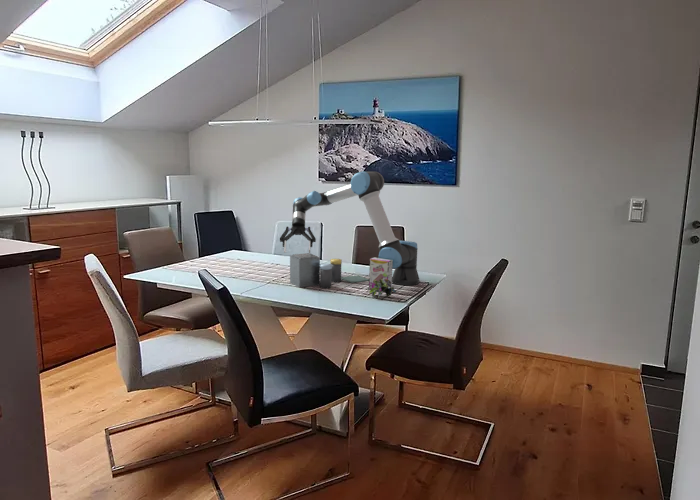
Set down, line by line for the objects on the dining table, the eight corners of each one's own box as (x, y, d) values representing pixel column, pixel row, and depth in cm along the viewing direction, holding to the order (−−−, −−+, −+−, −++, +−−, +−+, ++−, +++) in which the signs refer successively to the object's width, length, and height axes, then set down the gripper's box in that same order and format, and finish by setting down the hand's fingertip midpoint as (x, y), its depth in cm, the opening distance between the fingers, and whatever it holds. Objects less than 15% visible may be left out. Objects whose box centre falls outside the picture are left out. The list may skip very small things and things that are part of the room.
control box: (319, 284, 277) (319, 256, 274) (299, 287, 271) (299, 258, 268) (309, 280, 288) (309, 252, 285) (289, 282, 282) (289, 254, 279)
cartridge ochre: (343, 281, 285) (343, 260, 283) (333, 282, 282) (333, 261, 280) (338, 279, 291) (338, 258, 289) (328, 280, 288) (328, 259, 286)
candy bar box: (368, 289, 269) (369, 258, 266) (373, 287, 273) (373, 257, 270) (387, 292, 263) (388, 261, 260) (392, 290, 268) (393, 259, 265)
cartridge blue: (333, 287, 272) (333, 265, 270) (323, 288, 269) (323, 266, 267) (328, 284, 278) (328, 263, 275) (317, 286, 275) (317, 264, 272)
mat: (369, 280, 288) (369, 279, 288) (350, 283, 282) (350, 281, 282) (358, 276, 298) (358, 275, 298) (340, 278, 292) (340, 277, 292)
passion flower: (386, 306, 258) (401, 289, 254) (376, 307, 249) (390, 289, 245) (372, 290, 263) (386, 273, 259) (361, 291, 254) (375, 273, 250)
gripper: (320, 225, 303) (319, 255, 291) (277, 224, 302) (275, 255, 290) (320, 217, 297) (319, 247, 285) (276, 216, 296) (274, 247, 284)
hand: (297, 251), depth 287 cm, fingers open, 13 cm apart
